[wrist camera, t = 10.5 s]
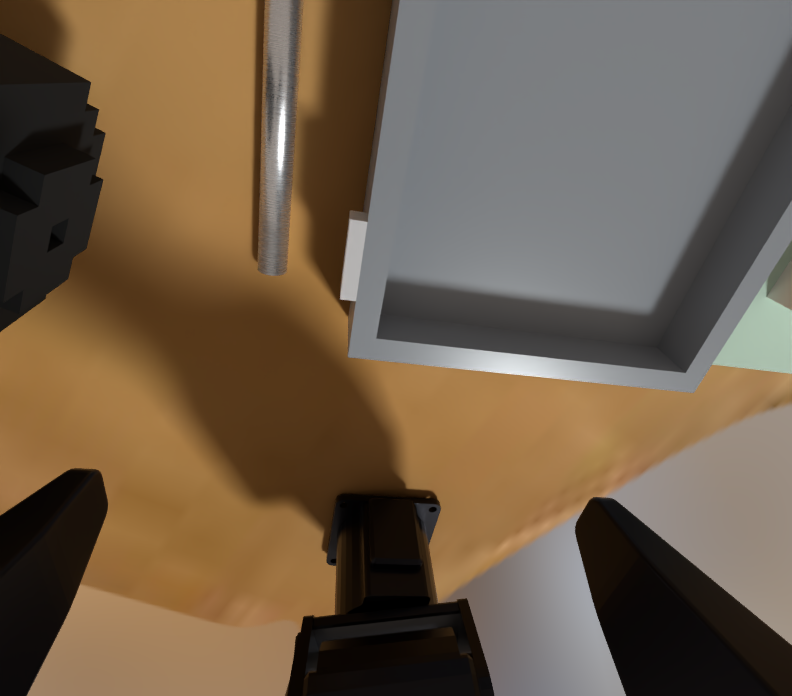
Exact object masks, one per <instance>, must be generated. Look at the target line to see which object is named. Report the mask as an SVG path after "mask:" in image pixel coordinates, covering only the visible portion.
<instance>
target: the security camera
mask: <svg viewBox="0 0 792 696" xmlns="http://www.w3.org/2000/svg"><path fill="white" fill-rule="evenodd" d="M90 85H91V82H90V81H88V80H86V79H84V78H82V77H80V76H78V75H77V74H75V73H73V72H71V71H69V70H67V69H65V68H63V67H62V66H60V65H58V64H56V63H54V62H52V61H50V60H49V59H47V58H45V57H43V56H41V55H39V54H37V53H35V52H34V51H32V50H30V49H28V48H26V47H24V46H22V45H21V44H19V43H17V42H15V41H13V40H11V39H9V38H7V37H6V36H4V35H2V34H0V332H1V331H2V330H3V329H5V328H6V327H8V326H9V325H10V324H12V323H13V322H14V321H16V320H17V319H18V318H20V317H21V316H23V315H24V314H25V313H27V312H28V311H29V310H31V309H32V308H33V307H35V306H36V305H38V304H39V303H40V302H42V301H43V300H44V299H46V295H47V294H48V293H49V292H51V291H52V290H54V289H55V288H56V287H58V286H59V285H60V284H62V283H63V282H65V281H66V280H67V279H68V277H69V273H70V268H71V264H72V260H73V257H74V256H76V255H77V254H79V253H80V252H82V251H84V250H85V249H86V248H87V244H88V240H89V236H90V232H91V228H92V223H93V219H94V215H95V211H96V207H97V203H98V199H99V195H100V191H101V187H102V182H103V179H101V178H99V177H97V176H96V172H97V167H98V163H99V159H100V155H101V150H102V146H103V142H104V138H105V133H104V132H102V131H101V130H99V129H97V128H95V125H96V121H97V116H98V112H99V109H97V108H95V107H93V106H91V105H89V104H87V100H88V95H89V90H90Z"/></svg>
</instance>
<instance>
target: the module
mask: <svg viewBox="0 0 792 696" xmlns="http://www.w3.org/2000/svg"><path fill="white" fill-rule="evenodd" d="M767 297H768V298H769V299H771V300H773V301H775V302H777V303H779V304H781V305H783V306H784V307H786V308H788V309H790V310H792V259H791V260H790V262H789V263H788V265H787V266H786V268H785V269H784V271H783V273H782V274H781V276H780V277H779V279H778V280H777V282H776V283H775V285H774V286H773V288H772V289H771V291H770V292H769V294H768V295H767Z"/></svg>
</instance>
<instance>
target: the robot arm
mask: <svg viewBox="0 0 792 696" xmlns="http://www.w3.org/2000/svg"><path fill="white" fill-rule="evenodd" d="M344 502H345V503H344ZM107 510H108V500H107V495H106V491H105V486H104V482H103V477H102V474H101V472H100V471H99V470H96V469H82V468H74V469H70V470H68V471H66V472H64V473H63V474H61V475H60V476H58V477H57V478H55V479H54V480H52V481H51V482H49V483H48V484H47V485H45V486H44V487H42V488H41V489H39V490H38V491H36V492H35V493H33V494H32V495H30V496H29V497H27V498H26V499H24V500H23V501H21V502H20V503H18V504H17V505H15V506H14V507H12V508H11V509H9V510H8V511H6V512H5V513H3V514H2V515H0V696H27V694H28V692H29V690H30V688H31V686H32V684H33V682H34V680H35V678H36V676H37V674H38V672H39V670H40V668H41V666H42V664H43V662H44V660H45V659H46V656H47V655H48V652H49V651H50V649H51V647H52V645H53V643H54V641H55V638H56V637H57V635H58V632H59V631H60V629H61V627H62V625H63V623H64V621H65V619H66V616H67V614H68V612H69V610H70V608H71V605H72V603H73V600H74V598H75V596H76V593H77V590H78V588H79V585H80V583H81V580H82V578H83V575H84V572H85V570H86V567H87V564H88V562H89V559H90V557H91V554H92V551H93V549H94V546H95V544H96V541H97V538H98V536H99V533H100V530H101V528H102V525H103V523H104V520H105V517H106V514H107ZM440 510H441V507H440V502H439V501H438V500H436V499H426V498H407V497H387V496H368V495H349V494H342V495H339V496H338V497H337V498H336V501H335V508H334V514H333V520H332V526H331V533H330V539H329V545H328V551H327V563H328V564H329V565H333V566H336V593H335V615H329V616H320V617H314V615H312V616H304V617H303V622H302V628H301V632H299V633H298V635H297V636H296V640H295V650H294V651H295V652H294V659H293V664H292V670H291V676H290V681H289V684H288V688H287V691H286V694H285V696H494V691H493V687H492V683H491V678H490V674H489V670H488V667H487V663H486V660H485V657H484V653H483V650H482V647H481V643H480V640H479V637H478V634H477V630H476V627H475V623H474V620H473V617H472V613H471V610H470V607H469V604H468V600H467V598H466V599H457V601H456V602H447V603H438V600H437V594H436V588H435V582H434V576H433V569H432V563H431V557H430V551H429V542H430V540H431V537H432V534H433V531H434V528H435V525H436V522H437V519H438V516H439V513H440ZM575 534H576V538H577V542H578V546H579V550H580V554H581V557H582V561H583V565H584V569H585V572H586V577H587V580H588V584H589V588H590V592H591V595H592V599H593V603H594V606H595V609H596V613H597V616H598V619H599V621H600V625H601V627H602V630H603V633H604V636H605V639H606V641H607V644H608V647H609V649H610V652H611V655H612V658H613V661H614V663H615V666H616V669H617V672H618V674H619V677H620V680H621V683H622V685H623V688H624V691H625V694H626V696H792V645H791V644H790V643H788V642H787V641H786V640H785V639H783V638H782V637H781V636H780V635H779V634H777V633H776V632H775V631H774V630H773V629H771V628H770V627H769V626H768V625H767V624H765V623H764V622H763V621H761V620H760V619H759V618H758V617H757V616H756V615H754V614H753V613H752V612H751V611H750V610H748V609H747V608H746V607H745V606H743V605H742V604H741V603H740V602H739V601H737V600H736V599H735V598H734V597H733V596H731V595H730V594H729V593H728V592H726V591H725V590H724V589H723V588H722V587H720V586H719V585H718V584H717V583H716V582H714V581H713V580H712V579H711V578H709V577H708V576H707V575H706V574H705V573H703V572H702V571H701V570H700V569H699V568H697V567H696V566H695V565H694V564H692V563H691V562H690V561H689V560H688V559H686V558H685V557H684V556H683V555H681V554H680V553H679V552H678V551H677V550H675V549H674V548H673V547H672V546H670V545H669V544H668V543H667V542H666V541H665V540H663V539H662V538H661V537H660V536H658V535H657V534H656V533H655V532H654V531H652V530H651V529H650V528H649V527H648V526H646V525H645V524H644V523H643V522H642V521H640V520H639V519H638V518H637V517H635V516H634V515H633V514H632V513H631V512H629V511H628V510H627V509H626V508H625V507H623V506H622V505H621V504H620V503H618V502H617V501H616V500H614V499H612V498H603V497H593V498H592V499H590V500H589V502H588V503H587V505H586V507H585V508H584V510H583V512H582V514H581V515H580V517H579V519H578V521H577V522H576V526H575Z"/></svg>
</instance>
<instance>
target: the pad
mask: <svg viewBox="0 0 792 696" xmlns="http://www.w3.org/2000/svg"><path fill="white" fill-rule="evenodd" d="M791 259H792V241H791V242H790V244H789V245H788V247H787V249H786V250H785V252H784V253H783V255H782V256H781V258H780V259H779V261H778V263H777V264H776V266H775V267H774V269H773V270H772V272H771V273H770V275H769V277H768V278H767V280H766V281H765V283H764V284H763V286H762V287H761V289H760V291H759V292H758V294H757V295H756V297H755V298H754V300H753V301H752V303H751V305H750V306H749V308H748V309H747V311H746V312H745V314H744V315H743V317H742V319H741V320H740V322H739V323H738V325H737V326H736V328H735V329H734V331H733V333H732V334H731V336H730V337H729V339H728V340H727V342H726V343H725V345H724V347H723V348H722V350H721V351H720V353H719V354H718V356H717V357H716V359H715V361H714V362H713V365H722V366H730V367H739V368H748V369H756V370H765V371H773V372H782V373H791V374H792V310H790V309H788V308H786V307H784V306H783V305H781V304H779V303H777V302H775V301H773V300H771V299H769V298H768V297H767V295H768V294H769V292H770V291H771V289H772V288H773V286H774V285H775V283H776V282H777V280H778V279H779V277H780V276H781V274H782V273H783V271H784V269H785V268H786V266H787V265H788V263H789V262H790V260H791Z"/></svg>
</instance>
